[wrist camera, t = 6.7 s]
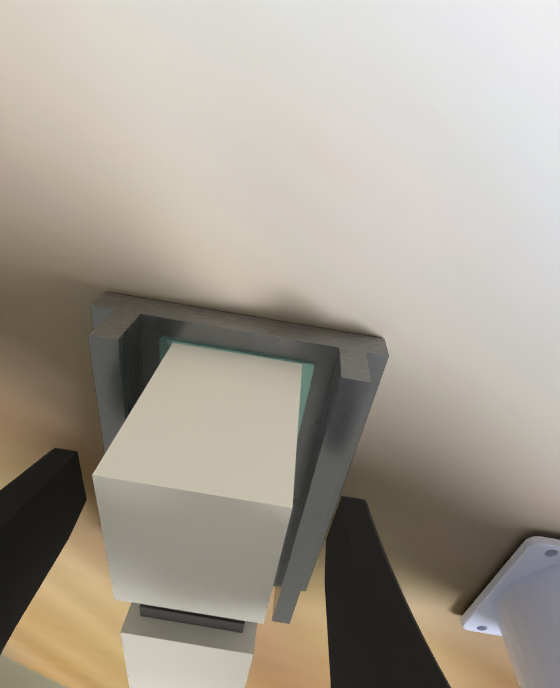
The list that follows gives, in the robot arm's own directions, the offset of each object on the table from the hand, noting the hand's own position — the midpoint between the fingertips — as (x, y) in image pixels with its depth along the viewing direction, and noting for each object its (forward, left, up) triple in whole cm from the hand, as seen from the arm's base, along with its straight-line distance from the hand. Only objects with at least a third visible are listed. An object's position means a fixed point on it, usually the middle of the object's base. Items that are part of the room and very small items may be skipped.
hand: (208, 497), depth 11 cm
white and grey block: (0, +7, -3) cm, 8 cm away
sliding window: (0, +3, -4) cm, 5 cm away
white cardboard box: (0, 0, -3) cm, 3 cm away
